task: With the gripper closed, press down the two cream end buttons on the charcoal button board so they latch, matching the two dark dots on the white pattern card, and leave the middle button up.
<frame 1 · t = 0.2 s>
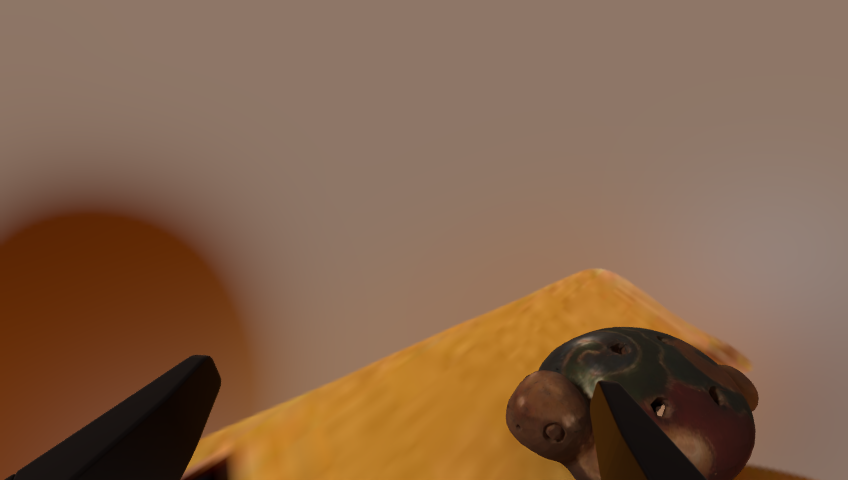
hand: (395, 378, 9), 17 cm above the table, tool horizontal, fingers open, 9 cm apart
decorative turtle: (611, 449, 25), on the table
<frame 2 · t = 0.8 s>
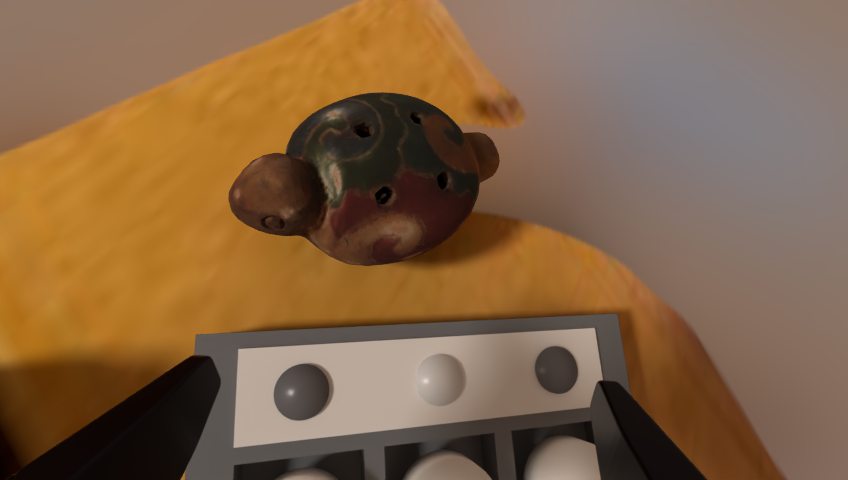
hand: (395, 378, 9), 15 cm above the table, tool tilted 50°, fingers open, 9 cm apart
decorative turtle: (369, 204, 27), on the table
board: (428, 446, 24), on the table
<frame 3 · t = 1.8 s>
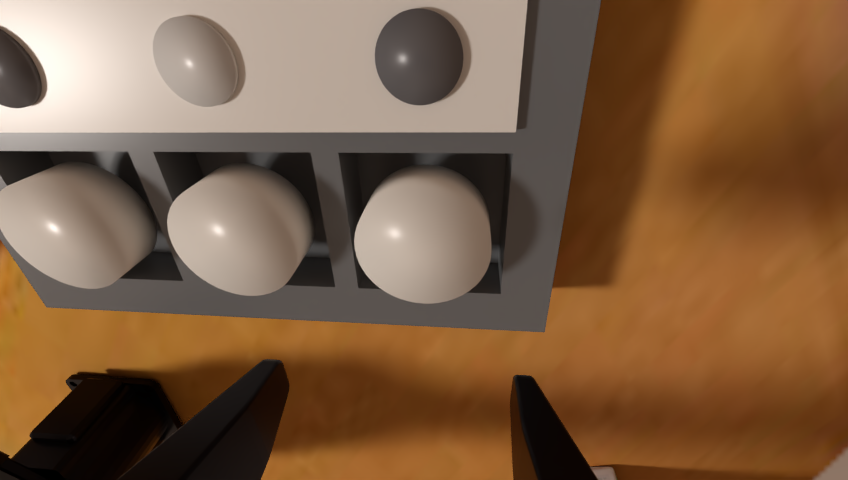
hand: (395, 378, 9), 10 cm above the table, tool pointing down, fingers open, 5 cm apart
button a: (424, 235, 15), point 4 cm above the table, slide at 0.0 cm
button b: (245, 231, 16), point 4 cm above the table, slide at 0.0 cm
button c: (81, 226, 16), point 4 cm above the table, slide at 0.0 cm
board: (271, 150, 18), on the table
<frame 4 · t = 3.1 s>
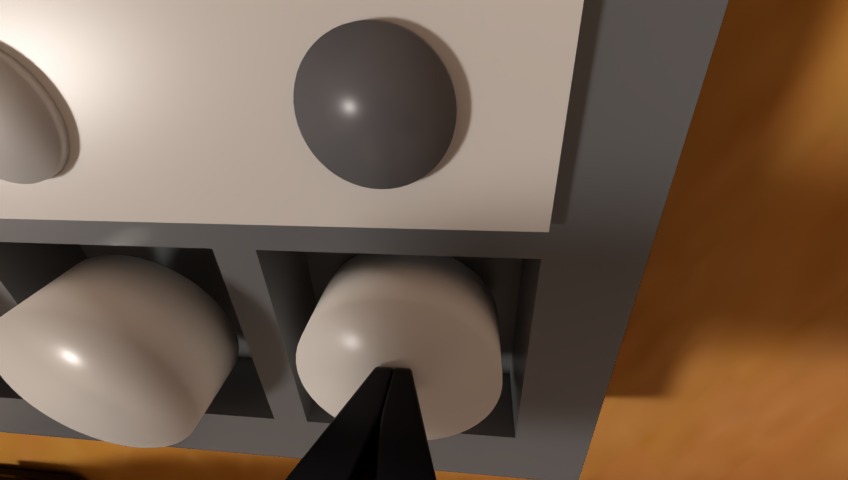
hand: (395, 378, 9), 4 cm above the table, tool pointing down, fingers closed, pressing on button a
button a: (403, 346, 10), point 3 cm above the table, slide at 0.8 cm, touching gripper
button b: (126, 354, 10), point 3 cm above the table, slide at 0.0 cm
board: (183, 219, 12), on the table
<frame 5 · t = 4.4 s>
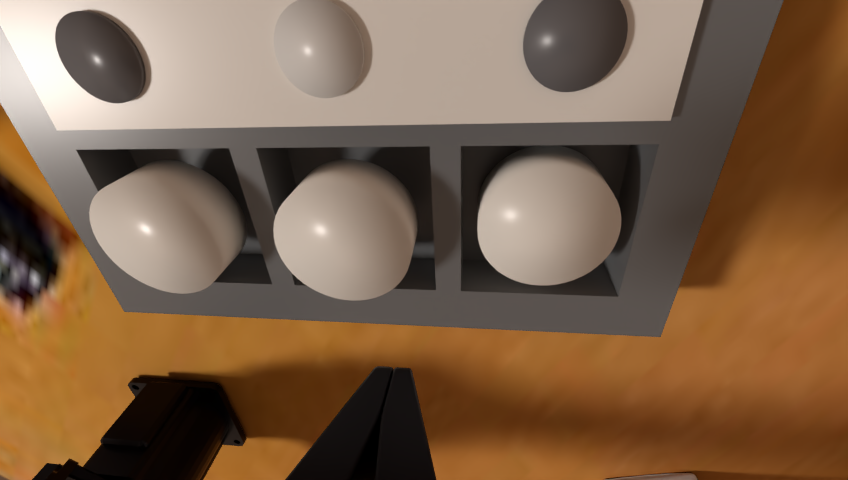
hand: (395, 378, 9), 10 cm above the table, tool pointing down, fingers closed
button a: (543, 217, 15), point 2 cm above the table, slide at 1.3 cm
button b: (349, 231, 15), point 4 cm above the table, slide at 0.0 cm
button c: (173, 228, 16), point 4 cm above the table, slide at 0.0 cm
board: (365, 145, 17), on the table
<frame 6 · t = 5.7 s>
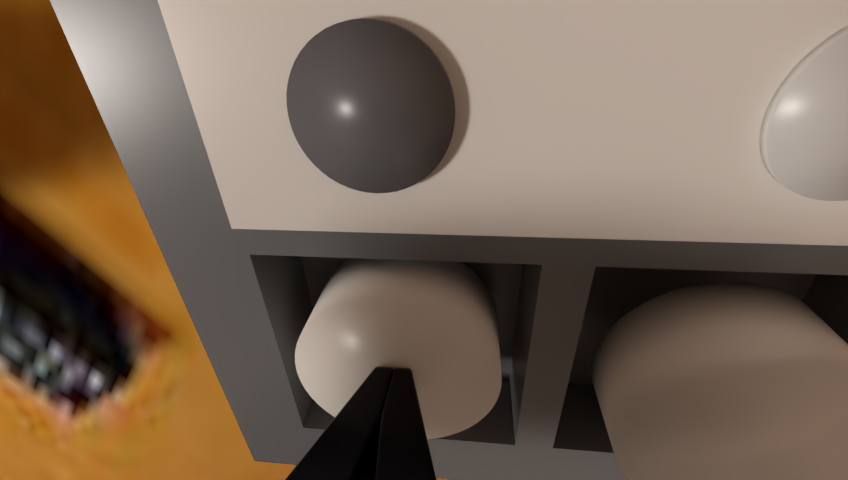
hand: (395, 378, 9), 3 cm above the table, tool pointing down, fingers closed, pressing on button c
button b: (721, 400, 9), point 3 cm above the table, slide at 0.0 cm
button c: (402, 345, 10), point 2 cm above the table, slide at 1.0 cm, touching gripper
board: (678, 235, 10), on the table
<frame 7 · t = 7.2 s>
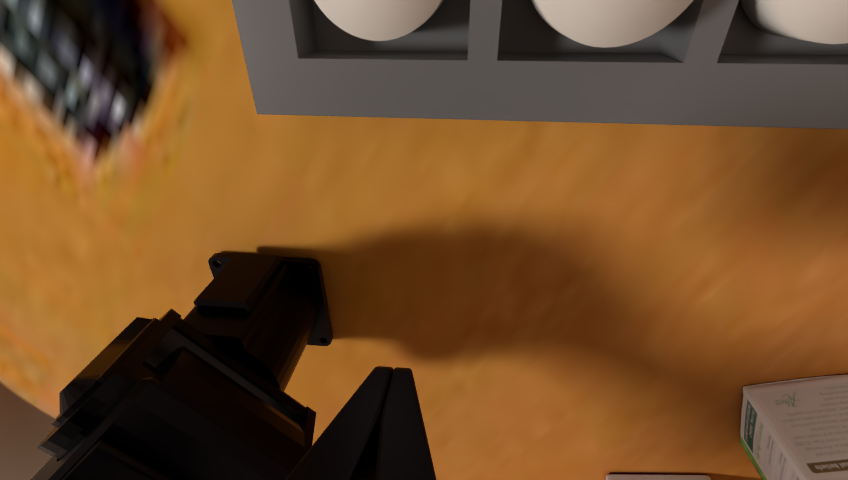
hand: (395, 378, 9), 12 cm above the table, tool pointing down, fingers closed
syrup box: (790, 404, 25), on the table
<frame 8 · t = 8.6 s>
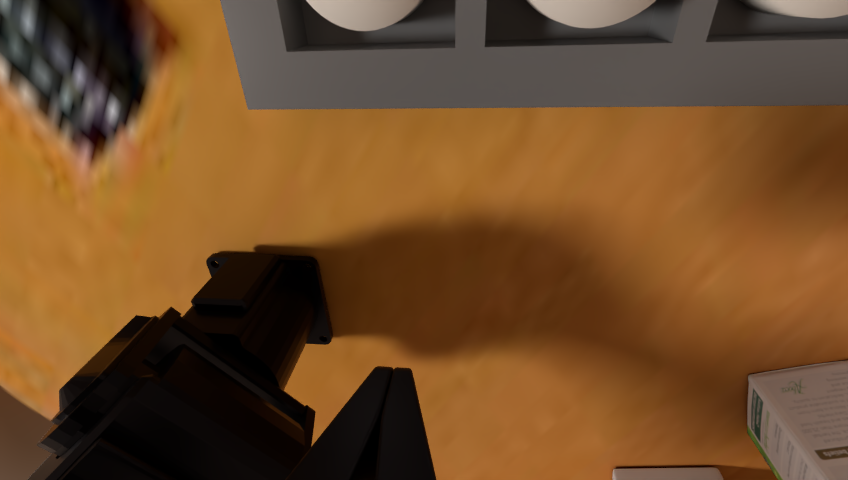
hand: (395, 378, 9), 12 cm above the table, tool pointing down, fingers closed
syrup box: (797, 392, 25), on the table
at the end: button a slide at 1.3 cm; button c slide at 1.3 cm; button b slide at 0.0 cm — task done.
